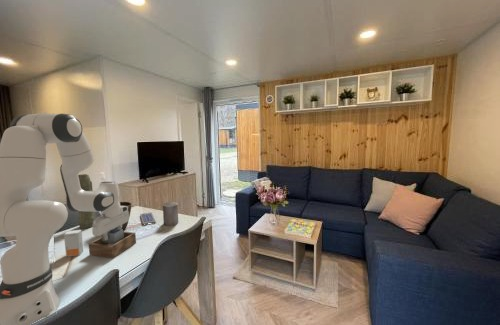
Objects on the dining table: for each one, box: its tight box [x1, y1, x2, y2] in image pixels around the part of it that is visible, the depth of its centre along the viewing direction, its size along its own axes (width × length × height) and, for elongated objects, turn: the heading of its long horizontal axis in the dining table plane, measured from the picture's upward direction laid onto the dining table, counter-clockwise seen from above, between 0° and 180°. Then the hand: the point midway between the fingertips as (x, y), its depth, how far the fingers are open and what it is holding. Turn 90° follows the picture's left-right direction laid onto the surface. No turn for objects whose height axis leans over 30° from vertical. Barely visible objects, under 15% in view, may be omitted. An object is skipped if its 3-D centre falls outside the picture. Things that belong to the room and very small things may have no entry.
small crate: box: [101, 229, 125, 243], centre depth 117 cm, size 6×8×5 cm
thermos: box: [77, 173, 96, 230], centre depth 145 cm, size 9×12×35 cm
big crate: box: [88, 231, 137, 259], centre depth 117 cm, size 16×14×6 cm
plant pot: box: [114, 201, 132, 230], centre depth 142 cm, size 15×15×16 cm
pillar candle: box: [162, 201, 179, 227], centre depth 151 cm, size 10×10×15 cm
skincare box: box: [63, 229, 84, 257], centre depth 112 cm, size 6×4×12 cm
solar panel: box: [140, 212, 157, 225], centre depth 160 cm, size 8×23×2 cm, turn 31°
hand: (113, 236), depth 117 cm, fingers closed on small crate, 6 cm apart
